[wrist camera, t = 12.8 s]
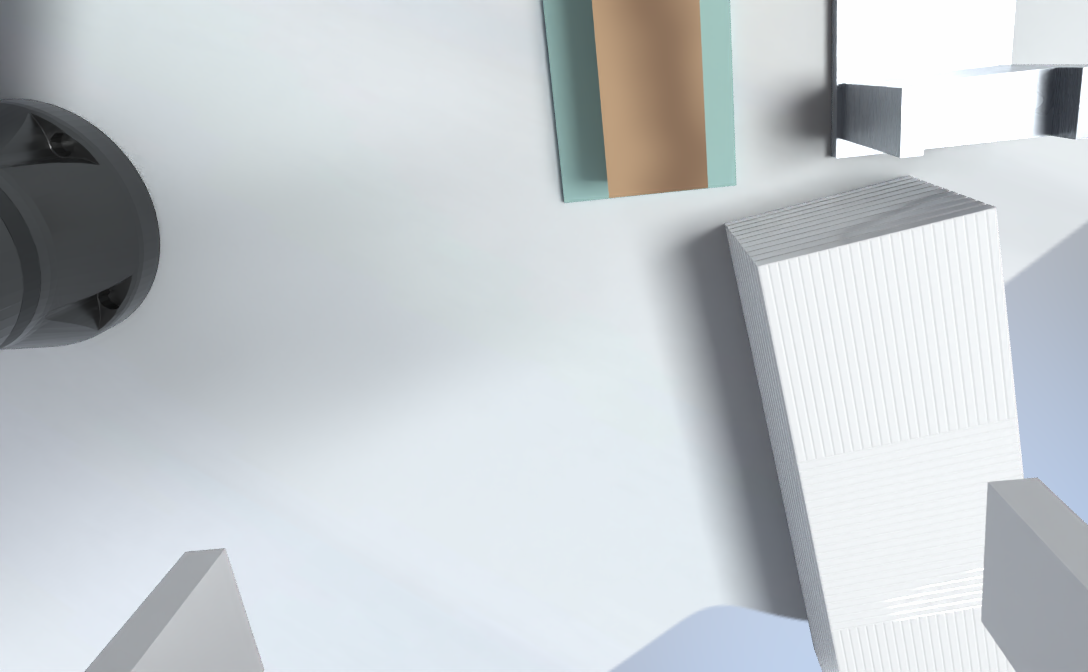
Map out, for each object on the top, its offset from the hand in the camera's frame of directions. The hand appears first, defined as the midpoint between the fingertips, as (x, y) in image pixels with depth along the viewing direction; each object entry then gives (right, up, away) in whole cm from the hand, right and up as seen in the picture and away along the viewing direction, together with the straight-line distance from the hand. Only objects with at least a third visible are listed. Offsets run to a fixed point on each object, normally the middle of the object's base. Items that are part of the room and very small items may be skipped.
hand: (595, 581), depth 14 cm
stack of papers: (+19, -2, +37) cm, 42 cm away
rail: (+4, +24, +28) cm, 37 cm away
